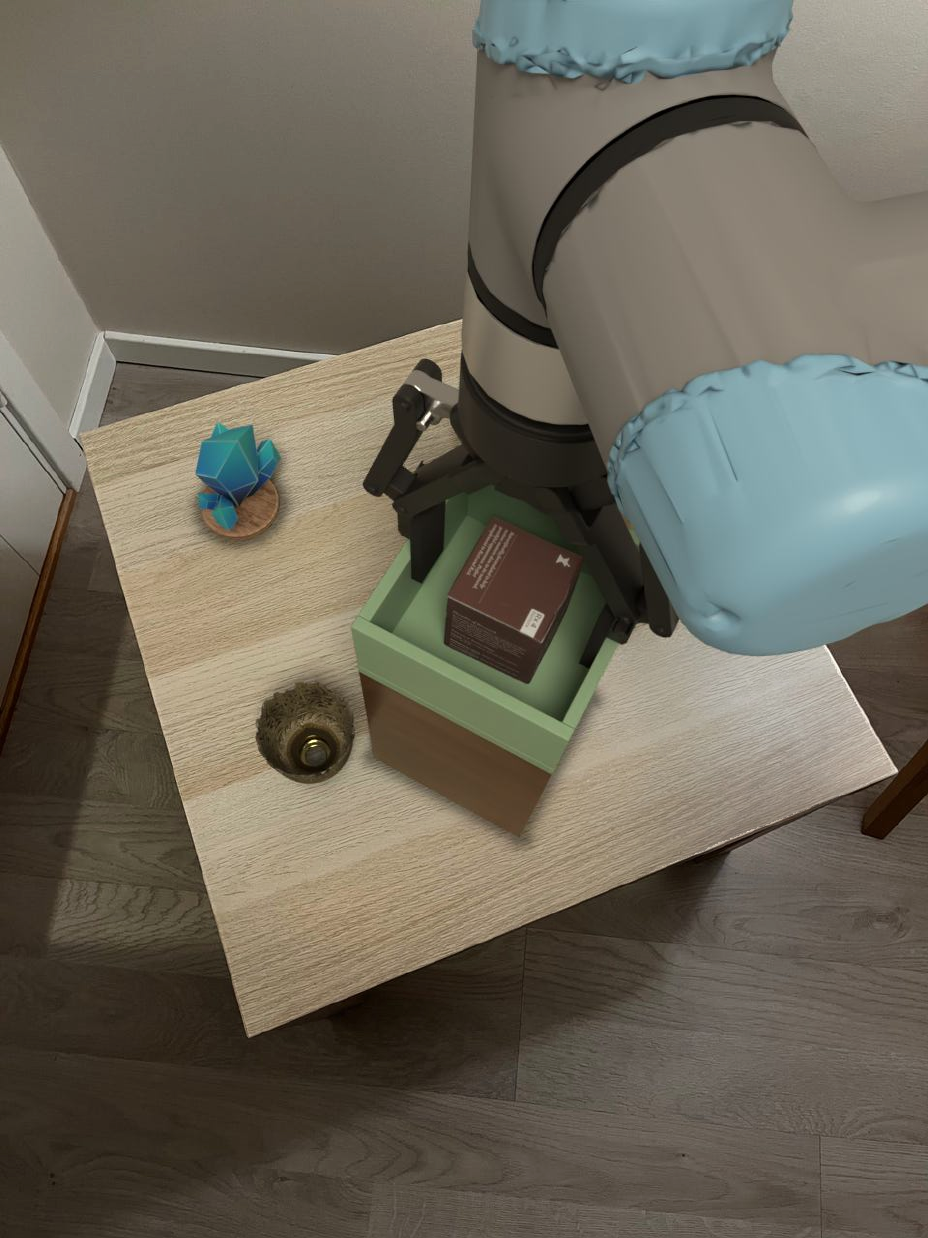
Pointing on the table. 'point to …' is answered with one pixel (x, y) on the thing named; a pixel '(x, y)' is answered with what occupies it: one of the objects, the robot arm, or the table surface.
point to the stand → (451, 758)
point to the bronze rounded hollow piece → (305, 731)
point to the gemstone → (237, 482)
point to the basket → (459, 685)
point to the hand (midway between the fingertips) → (509, 605)
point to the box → (510, 599)
